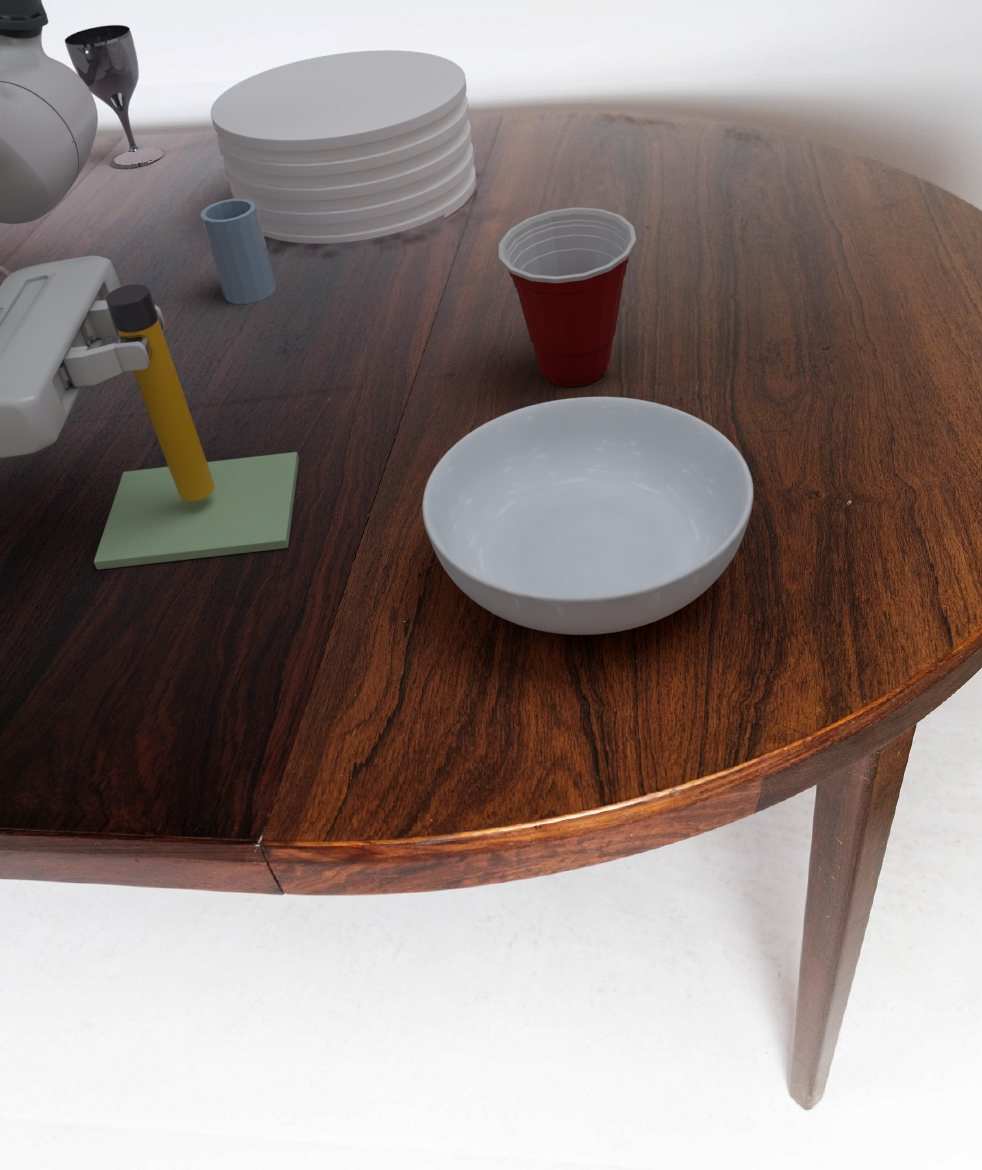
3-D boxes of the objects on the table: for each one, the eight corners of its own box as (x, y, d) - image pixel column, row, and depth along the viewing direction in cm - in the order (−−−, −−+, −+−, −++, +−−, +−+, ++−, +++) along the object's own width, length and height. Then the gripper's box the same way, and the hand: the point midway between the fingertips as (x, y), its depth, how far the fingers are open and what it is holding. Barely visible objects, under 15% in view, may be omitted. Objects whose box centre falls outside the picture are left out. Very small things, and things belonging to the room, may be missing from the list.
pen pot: (222, 312, 104) (197, 224, 98) (229, 287, 108) (204, 202, 102) (274, 306, 104) (252, 218, 98) (279, 281, 108) (257, 195, 102)
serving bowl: (499, 455, 82) (491, 379, 77) (772, 497, 75) (781, 416, 70) (384, 640, 68) (365, 561, 63) (705, 712, 61) (711, 629, 56)
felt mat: (96, 570, 76) (93, 561, 76) (126, 479, 84) (123, 471, 84) (288, 548, 76) (285, 539, 75) (299, 459, 84) (297, 451, 83)
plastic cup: (485, 387, 89) (469, 253, 81) (551, 328, 95) (543, 199, 87) (597, 418, 84) (592, 279, 76) (659, 354, 90) (661, 219, 82)
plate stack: (193, 206, 125) (163, 106, 117) (378, 132, 137) (363, 37, 129) (329, 272, 108) (306, 161, 100) (526, 181, 121) (518, 75, 113)
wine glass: (179, 149, 140) (143, 25, 130) (141, 172, 135) (100, 46, 125) (132, 145, 143) (93, 24, 133) (93, 167, 138) (50, 44, 128)
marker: (175, 504, 78) (101, 307, 67) (181, 481, 80) (110, 286, 69) (213, 499, 78) (144, 302, 67) (217, 477, 80) (152, 281, 69)
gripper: (17, 322, 80) (195, 304, 80) (-82, 484, 65) (136, 463, 65) (-17, 244, 76) (170, 224, 76) (-132, 397, 61) (101, 374, 60)
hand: (154, 336), depth 70 cm, fingers closed on marker, 3 cm apart
